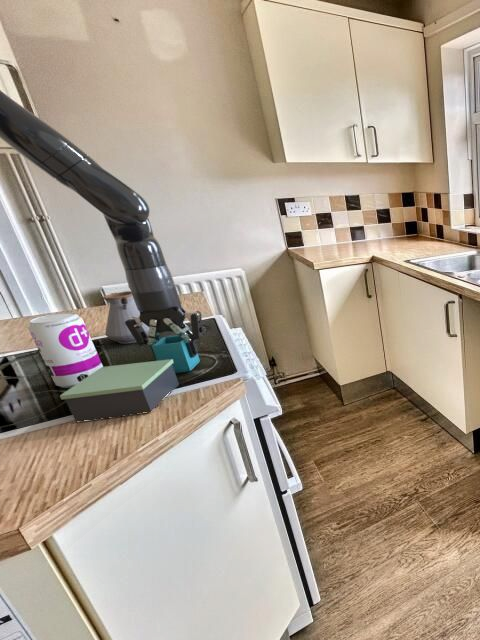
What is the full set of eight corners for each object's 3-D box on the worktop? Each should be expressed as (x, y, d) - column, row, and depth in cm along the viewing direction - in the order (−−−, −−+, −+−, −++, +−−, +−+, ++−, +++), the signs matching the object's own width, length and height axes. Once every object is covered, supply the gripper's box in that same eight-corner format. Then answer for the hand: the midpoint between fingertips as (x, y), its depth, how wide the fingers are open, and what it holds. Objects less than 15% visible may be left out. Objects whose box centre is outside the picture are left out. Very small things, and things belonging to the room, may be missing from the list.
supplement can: (115, 373, 98) (90, 312, 92) (76, 390, 90) (45, 324, 84) (87, 371, 99) (60, 310, 93) (46, 388, 92) (13, 323, 86)
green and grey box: (73, 424, 78) (59, 395, 75) (113, 392, 89) (102, 366, 87) (152, 413, 81) (141, 385, 78) (181, 383, 92) (172, 359, 90)
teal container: (162, 374, 95) (151, 345, 92) (173, 364, 100) (163, 336, 97) (190, 370, 96) (180, 342, 94) (200, 361, 101) (191, 334, 99)
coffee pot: (107, 339, 119) (86, 287, 113) (158, 328, 126) (140, 279, 121) (115, 360, 105) (91, 302, 99) (172, 346, 112) (152, 292, 107)
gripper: (198, 280, 96) (219, 348, 102) (123, 285, 92) (150, 355, 99) (183, 288, 89) (207, 360, 95) (102, 294, 86) (132, 369, 92)
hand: (178, 357), depth 97 cm, fingers closed on teal container, 5 cm apart
